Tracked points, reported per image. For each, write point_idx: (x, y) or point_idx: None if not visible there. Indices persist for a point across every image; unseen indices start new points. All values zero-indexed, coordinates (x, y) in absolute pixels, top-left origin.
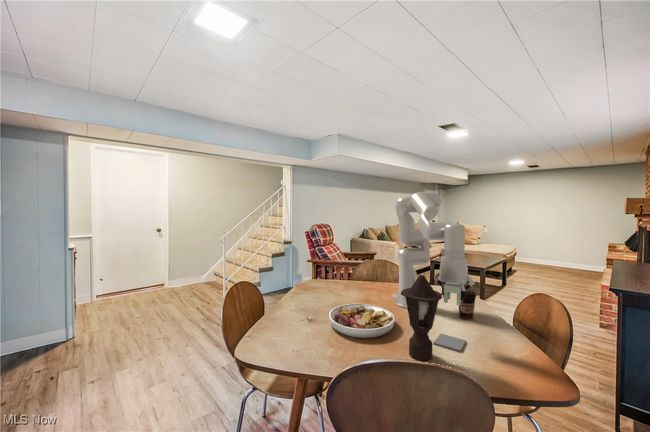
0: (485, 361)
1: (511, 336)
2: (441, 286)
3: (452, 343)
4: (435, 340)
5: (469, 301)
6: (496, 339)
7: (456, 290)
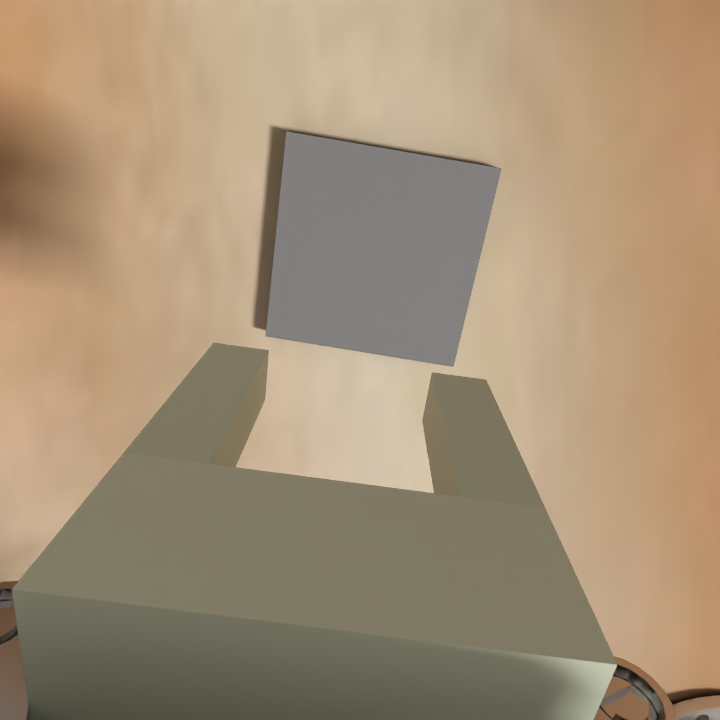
0: (110, 77)
1: (24, 547)
2: (641, 698)
3: (354, 228)
4: (485, 214)
5: None
6: (95, 467)
7: (191, 520)
